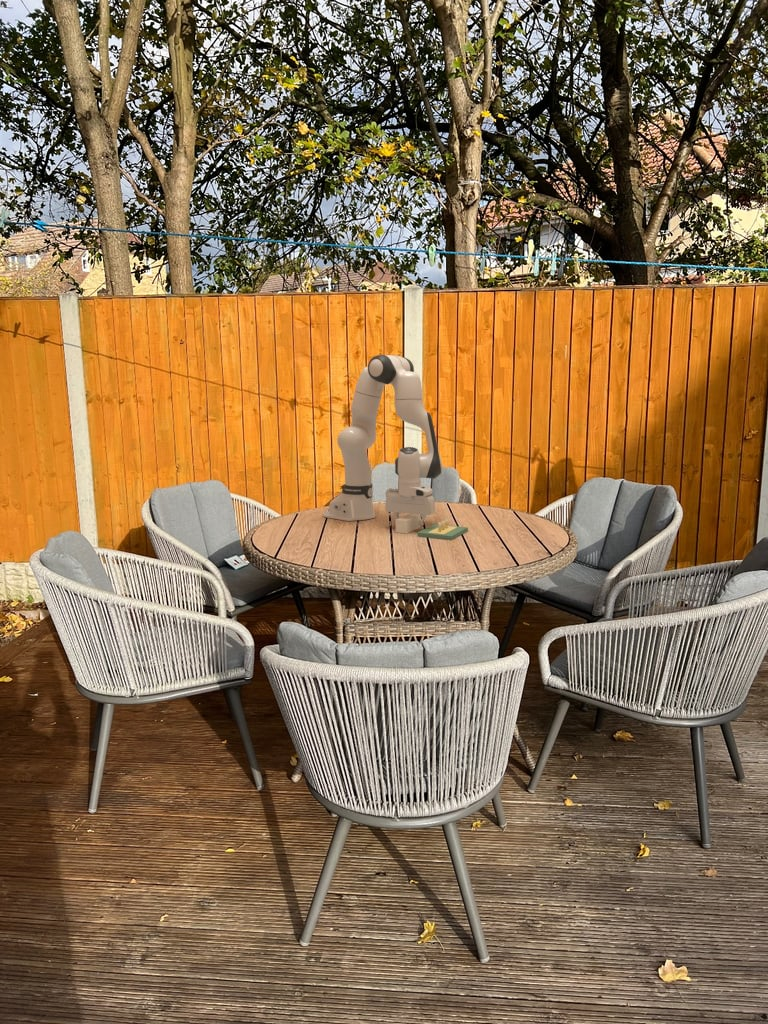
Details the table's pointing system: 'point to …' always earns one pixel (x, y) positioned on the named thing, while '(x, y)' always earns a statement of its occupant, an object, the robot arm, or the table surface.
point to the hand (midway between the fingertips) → (410, 524)
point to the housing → (407, 523)
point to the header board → (442, 531)
